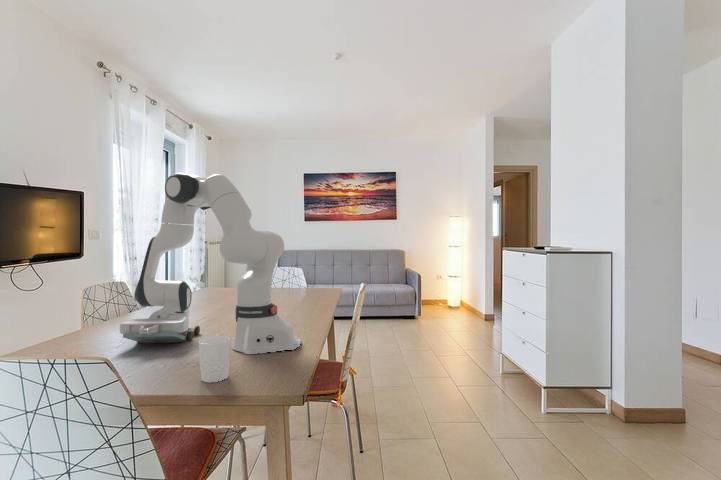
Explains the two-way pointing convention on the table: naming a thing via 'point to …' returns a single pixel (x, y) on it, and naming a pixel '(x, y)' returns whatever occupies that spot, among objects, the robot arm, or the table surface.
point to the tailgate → (154, 336)
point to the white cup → (214, 358)
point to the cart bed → (187, 334)
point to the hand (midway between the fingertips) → (144, 331)
